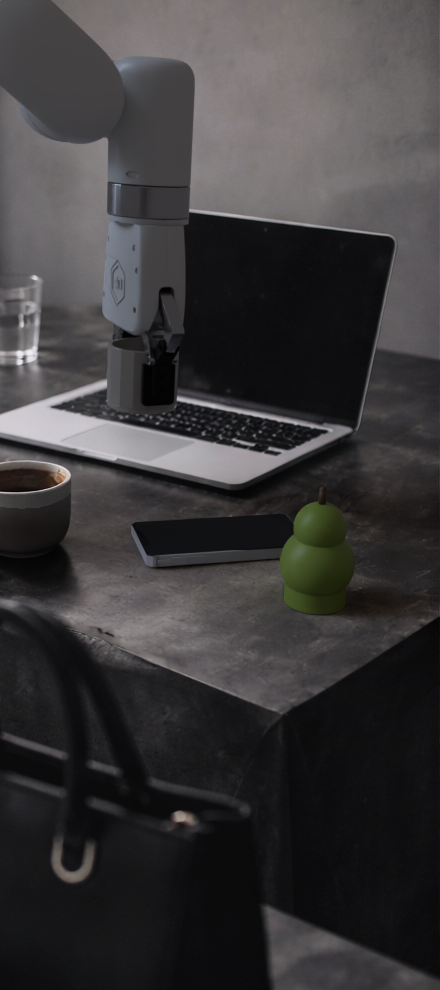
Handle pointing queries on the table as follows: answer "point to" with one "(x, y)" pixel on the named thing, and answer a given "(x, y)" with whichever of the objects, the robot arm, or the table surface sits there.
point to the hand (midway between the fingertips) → (142, 392)
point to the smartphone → (212, 539)
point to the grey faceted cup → (131, 377)
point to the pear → (317, 559)
